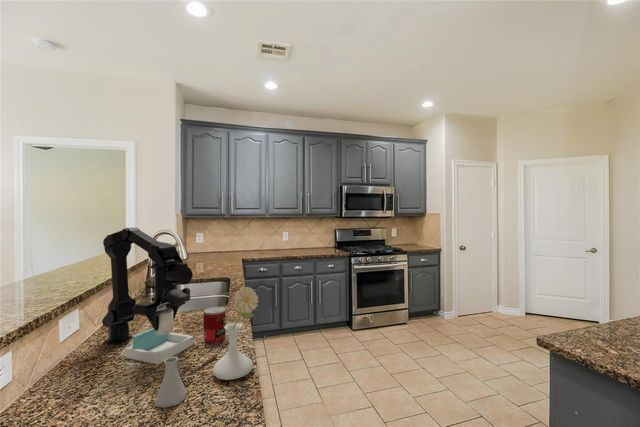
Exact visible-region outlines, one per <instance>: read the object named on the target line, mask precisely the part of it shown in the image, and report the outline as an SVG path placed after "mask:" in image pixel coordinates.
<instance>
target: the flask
mask: <svg viewBox="0 0 640 427" xmlns="http://www.w3.org/2000/svg"><path fill="white" fill-rule="evenodd" d="M178 360H179V357H178V356H173V357H169V358H167V359H165V360H164V362H163V364H164V365H165V366H164V368H165V370H164V375H163V379H162V381H161V384H160V387H159V390H158V393H157V396H156V398H155V403H154V407H157V408H158V407H159V408H163V409H164V408H169V407H175V406H177V405H180V403H182V402H183V401H184V400H185V399H186V398H187V389H186V386H185V385H184V383H183V381H182V378H181V376H180V373H179V371H178V370H179V369H178Z"/></svg>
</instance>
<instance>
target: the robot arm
mask: <svg viewBox="0 0 640 427" xmlns="http://www.w3.org/2000/svg"><path fill="white" fill-rule="evenodd" d="M102 244H103V248H104V253H105V254H106V255H107V257H109V258H110V268H111V271H110V272H111V284H112V285H111V286H112V298H111V300H110V302H109V303H108V305H107V313H106V314H105V315H104V317H103V318H102V320H101V323H102V327H104V328H107V329H108V332H107V333H108V334H107V335H108V338H107V339H105V340H103V341H104V343H109V344H114V345H118V344H120V343H122V342H125V341H128V340H129V339H131V338H132V339H133V335H130V333H129V332H130V330H129V329H130V327H129V326H130V325H129V322H132V321H134V319H135V315H142V316H146V318H147V319H148V321H149V323H150V325H151V326H152V328H154V330H155V331H158V328H159V315H160V314H161V312H162V311H159V309H160V308H161V307H163V306H165V308H166V307H170V308H173V322H174V321H175V319H176V316H177V312H178V311H179V308H180V307H181V306H183V305H185V304H186V303H187V302H189V301H190V300H191V289H190V288H189V287H185V288H183V289H178V288H177V286H178V285H184V286H186V285H188V284H189V283H190V282H191V281H192V279H193V277H194V276H193V270H192V268H191V267H189V266H188V265H189V264H188V263H184V262H183V259H182V257H181V255H180V253H179V252H178V250H177V247H176V246H175V245H174V244H171V243H168V242H163V241H158V240H156V239H155V238H153V237H152V236H150V235H148V234H147V233H145V232H144V231H142V230H141V229H140V228H139V227H125V228H123V229H121V230H119V231H116V232H114V233H111V234H107V236H105V238H104V239H103V240H102ZM133 244H134V245H136V246H137V247H138V248H141V249H142V250H143V251H145V252H147V257H148V258H149V259H150V260H151V261H152V262H153V264H151V265H150V269H154V284H153V285H151V289H152V290H154V296H153V297H151V302H150V301H143V302H139V303H137V301H136V298H132V297H131V295H130V291H129V290H130V289H129V276H128V274H129V272H128V258H127V257H128V255H129V253H130V252H131V250H132V245H133Z"/></svg>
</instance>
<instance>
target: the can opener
mask: <svg viewBox="0 0 640 427" xmlns="http://www.w3.org/2000/svg"><path fill="white" fill-rule="evenodd" d="M215 360H217V357H216V356H213V357H211V358H209V359H208V360H207V361H205V362H203V363H202V365H200V366H197V367H196V368H194V370H192V372H197V370H200V369H204V367H206V366H207V365H209V364H210V363H212V362H214V361H215Z"/></svg>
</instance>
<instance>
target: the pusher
mask: <svg viewBox="0 0 640 427" xmlns="http://www.w3.org/2000/svg"><path fill="white" fill-rule="evenodd" d="M166 340H167V334H166V335H155V330H154V328H153V327H152V328H150V329H147V330H145V331H142V332H140V333H137V334H135V335H132V345H133V348H135V349H140V350H147V349H149V348H151V347H154V346H156V345H158V344H160V343H162V342H164V341H166Z"/></svg>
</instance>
